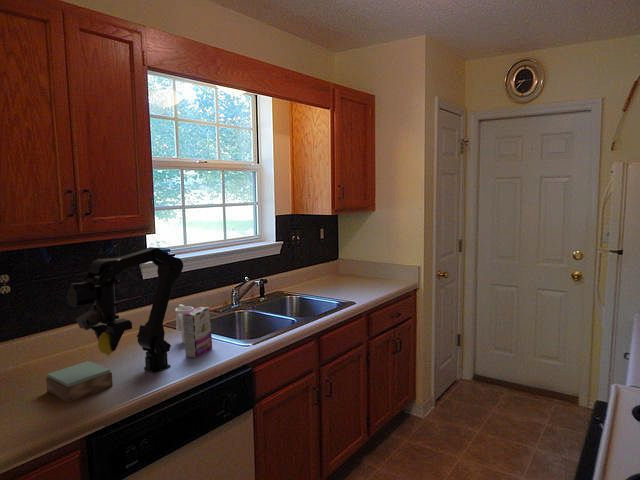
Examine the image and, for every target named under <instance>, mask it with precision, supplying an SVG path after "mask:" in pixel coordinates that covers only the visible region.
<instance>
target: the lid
mask: <svg viewBox="0 0 640 480" xmlns="http://www.w3.org/2000/svg"><path fill="white" fill-rule="evenodd" d="M110 372H111V369H110V368H107V367H105V366H102V365H100V364H97V363H95V362H93V361H90V360H87V361H84V362H80V363H79V364H75V365H72V366H71V365H70V366H68V367H65V368H62V369H59V370H56V371H52V372H49V373H47V375H46V376H47V378H50V379H52V380H54V381H56V382H58V383H60V384H63V385H65V386H67V387H70V386H73V385H76V384H79V383H82V382H85V381H87V380H90V379H93V378H96V377H99V376H102V375H105V374H107V373H110Z"/></svg>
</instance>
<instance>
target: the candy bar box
mask: <svg viewBox="0 0 640 480" xmlns="http://www.w3.org/2000/svg"><path fill="white" fill-rule="evenodd" d="M211 323H212V321H211V308H210V306H209V307H208V306H198V307H196V308H194V310H191V311H189V312H187V313H185V314H183V324H184V338H185V343H184V351H185V357H186V358H190V359H191V358H193V359H196V358H199V357H200V356H202V355H204V354H206V353H207V352H208V351H210V350H212V349H213V340H212V339H213V338H212V324H211Z"/></svg>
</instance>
